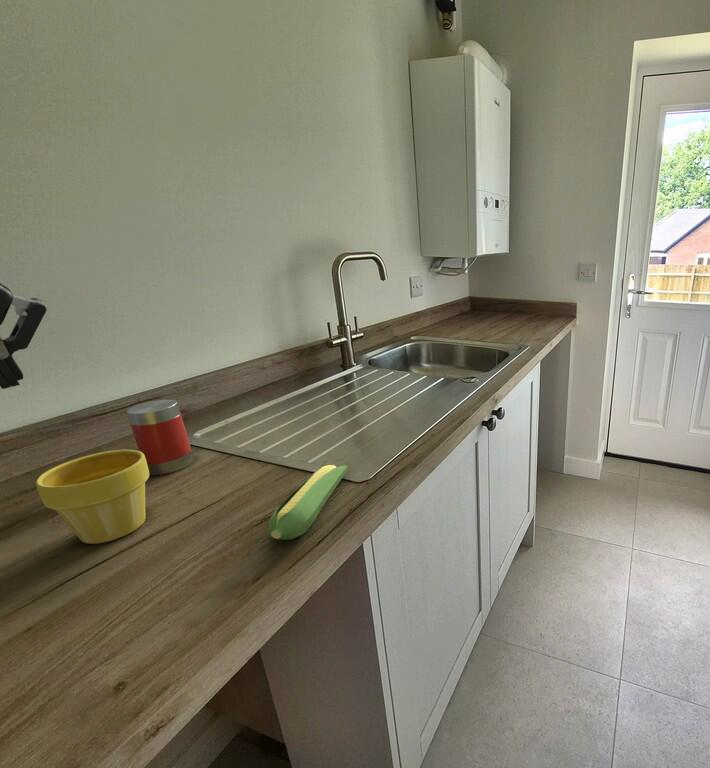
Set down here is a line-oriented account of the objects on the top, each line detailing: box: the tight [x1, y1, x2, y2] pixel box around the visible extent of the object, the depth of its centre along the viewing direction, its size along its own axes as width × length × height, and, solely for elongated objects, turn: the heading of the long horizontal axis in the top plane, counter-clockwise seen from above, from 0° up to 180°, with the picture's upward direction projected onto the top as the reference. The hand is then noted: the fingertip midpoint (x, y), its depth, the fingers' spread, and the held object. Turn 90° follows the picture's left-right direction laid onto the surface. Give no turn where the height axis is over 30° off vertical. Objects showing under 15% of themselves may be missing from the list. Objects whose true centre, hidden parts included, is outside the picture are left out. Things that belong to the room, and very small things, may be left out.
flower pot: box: [35, 449, 150, 545], centre depth 56 cm, size 10×10×10 cm
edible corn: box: [268, 460, 350, 541], centre depth 61 cm, size 5×20×5 cm, turn 179°
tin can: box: [126, 399, 194, 476], centre depth 72 cm, size 7×7×12 cm
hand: (9, 384), depth 50 cm, fingers closed
